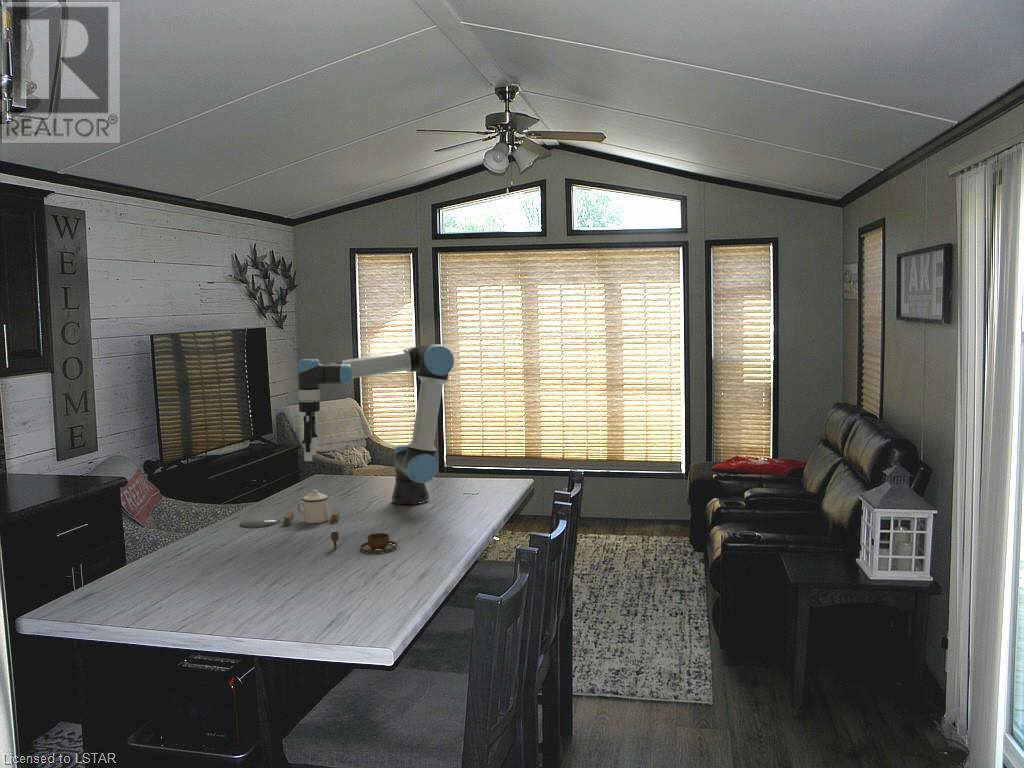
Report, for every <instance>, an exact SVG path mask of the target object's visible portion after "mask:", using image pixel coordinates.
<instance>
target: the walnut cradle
mask: <svg viewBox="0 0 1024 768" xmlns="http://www.w3.org/2000/svg"><path fill="white" fill-rule="evenodd" d="M332 510H333V511H332V512H331V523H332V522H339V520H340V519H339V518H340V509H339V508H338V507H337V508H333V509H332ZM292 520H293V521H294V511H293V510H292V511H291V510H288V511H287V512H286V514H285V516H284V526H285V525H289V526H291V524H292V523H291V522H293V521H292Z"/></svg>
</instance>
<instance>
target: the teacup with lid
mask: <svg viewBox="0 0 1024 768" xmlns="http://www.w3.org/2000/svg"><path fill="white" fill-rule="evenodd" d="M328 499H329V498H328V496H327V495H326V494H323V493H321V492H319V490H317V489H313V490H311V492H310V493H309V494H307V495H305V496H303V497H302V500H301V501H299V502H297V504H296V510H297V512H298V513H299V514H300V515H303V522H304V523H305V522H306V523H305V524H309V523H317V524H322V522H323V523H326V522H328V520H329V515H328V514H329V511H328ZM301 504H303V511H302V509H301V507H300V505H301ZM325 521H326V522H325Z"/></svg>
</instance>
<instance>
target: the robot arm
mask: <svg viewBox="0 0 1024 768" xmlns="http://www.w3.org/2000/svg"><path fill="white" fill-rule="evenodd" d="M454 364H455V358H454V354H453V352H452V351H451V350H450V348H448V347H447V346H444V345H443V344H438V343H435V344H434V343H425V344H421V345H418V346H414V347H409V348H404V349H403V350H402V351H398V352H391V353H386V354H385V353H384V354H378V355H372V356H371V355H370V356H365V357H357V358H356V357H355V358H351V359H349V358H348V359H343V360H336V361H325V362H322V363H320V360H319V359H317V358H303V359H300V360H299V361H298V364H297V365H298V367H297V368H298V369H297V377H298V379H297V383H298V391H297V393H296V395H298V400H299V402H298V411H299V412H300V413H305V415H304V416H303V440H301V443H302V444H303V451H304V452H303V453H304V455H303V456H304V457H303V459H304V460H303V461H304V462H313V456H316V455H317V447H316V446H317V445H316V442H317V441H316V439H317V438H318V434H317V431H316V416H315V414H316V413H318V412H320V410H321V408H320V406H321V405H320V403H321V402H320V401H319V400H321V397H320V394H321V391H320V390H321V389H320V385H344V384H345V385H346V384H350V383H351V382H352V380H353V379H355V378H356V379H357V378H364V377H371V376H375V375H376V376H377V375H385V374H390V373H397V372H404V371H405V372H407V373H414V372H417V373H418V374H417V377H418V379H419V380H420V388H419V392H418V400H417V404H416V405H417V406H416V413H415V419H414V424H413V425H414V426H413V433H412V437H411V441H410V442H409V443H408V444H407V445H397V446H396V447H394V451H393V452H394V453H393V456H394V473H395V474H394V476H395V484H394V488H393V490H392V494H391V503H392V502H393V503H392V504H394V503H396V504H395V505H400V504H414V503H419V502H423V501H426V500H428V499H429V500H430V493H429V491H428V489H427V485H426V483H427V482H430V481H431V480H433V479H434V477H436V474H437V472H438V462H437V459H436V456H437V447H436V446H435V445H434V444H435V437H436V432H437V424H438V419H439V412H440V405H441V400H442V399H441V398H442V393H443V386H444V384H445V383H448V379H449V374H450V372H451V371H452V369H453V367H454ZM414 505H415V504H414Z"/></svg>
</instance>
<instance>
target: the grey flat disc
mask: <svg viewBox="0 0 1024 768" xmlns="http://www.w3.org/2000/svg"><path fill="white" fill-rule="evenodd" d="M278 522H279V523H280V522H281V517H280V516H276V515H271V514H269V515H256V516H255V515H254V516H251V517H247V518H244V519H242V520H240V526H241V527H244V526H247V527H246V528H252V527H254V528H261V527H260V526H266V527H268V526H267V525H271V526H274V525H273V524H275V525H277V524H279V523H278ZM276 523H277V524H276Z"/></svg>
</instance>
